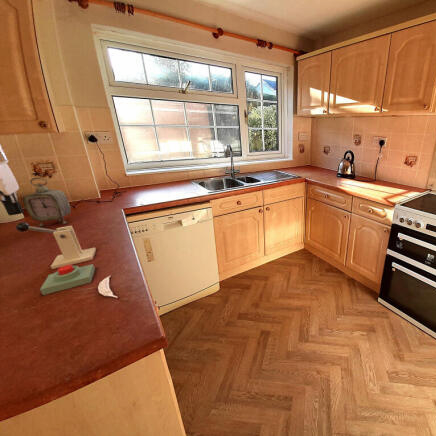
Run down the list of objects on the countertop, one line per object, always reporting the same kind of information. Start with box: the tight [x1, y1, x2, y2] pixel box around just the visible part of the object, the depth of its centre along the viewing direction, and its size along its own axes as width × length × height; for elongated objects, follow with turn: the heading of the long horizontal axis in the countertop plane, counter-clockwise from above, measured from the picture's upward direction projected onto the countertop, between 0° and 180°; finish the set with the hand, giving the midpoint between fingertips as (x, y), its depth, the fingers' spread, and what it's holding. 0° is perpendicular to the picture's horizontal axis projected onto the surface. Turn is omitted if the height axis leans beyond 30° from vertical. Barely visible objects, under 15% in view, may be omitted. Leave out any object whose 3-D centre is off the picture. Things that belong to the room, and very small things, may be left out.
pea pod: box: [97, 275, 119, 299], centre depth 76 cm, size 15×4×2 cm, turn 39°
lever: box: [15, 221, 71, 234], centre depth 88 cm, size 14×3×3 cm, turn 120°
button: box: [57, 264, 74, 275], centre depth 80 cm, size 4×4×2 cm
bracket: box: [50, 225, 97, 270], centre depth 93 cm, size 12×9×13 cm
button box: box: [39, 263, 96, 296], centre depth 81 cm, size 12×9×4 cm
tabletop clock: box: [22, 177, 72, 228], centre depth 125 cm, size 14×9×25 cm, turn 102°
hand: (16, 213), depth 83 cm, fingers closed
